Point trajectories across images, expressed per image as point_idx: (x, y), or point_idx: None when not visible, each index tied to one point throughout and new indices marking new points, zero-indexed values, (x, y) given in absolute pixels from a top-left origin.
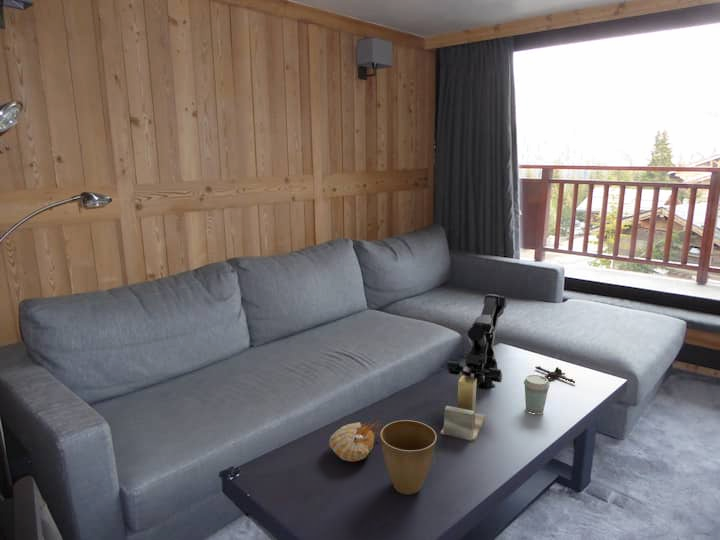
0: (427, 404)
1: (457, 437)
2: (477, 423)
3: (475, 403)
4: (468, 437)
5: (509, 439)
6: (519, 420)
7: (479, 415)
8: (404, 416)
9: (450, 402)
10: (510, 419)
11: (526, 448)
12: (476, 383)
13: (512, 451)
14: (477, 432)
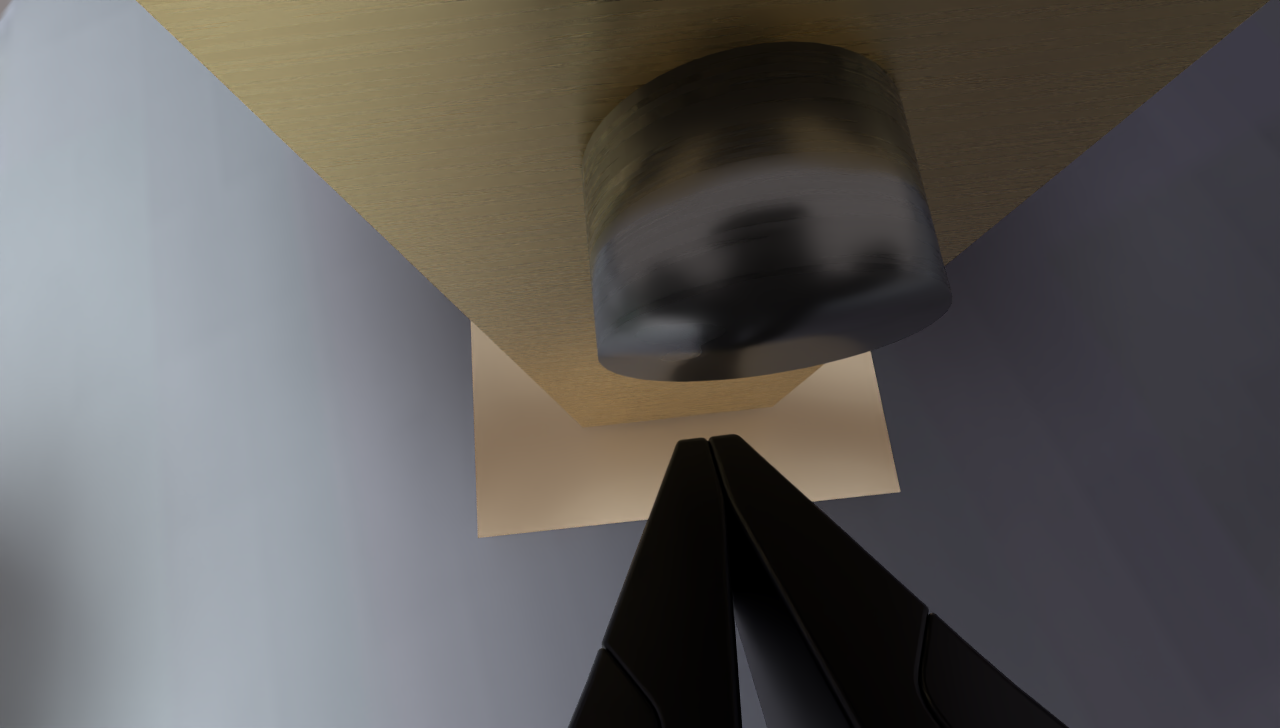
0: (1259, 483)
1: None
2: None
3: (549, 391)
4: None
5: (170, 218)
6: (74, 682)
7: (541, 489)
8: (1272, 99)
9: None
10: (184, 647)
11: (15, 154)
12: (290, 135)
13: (135, 57)
14: None
